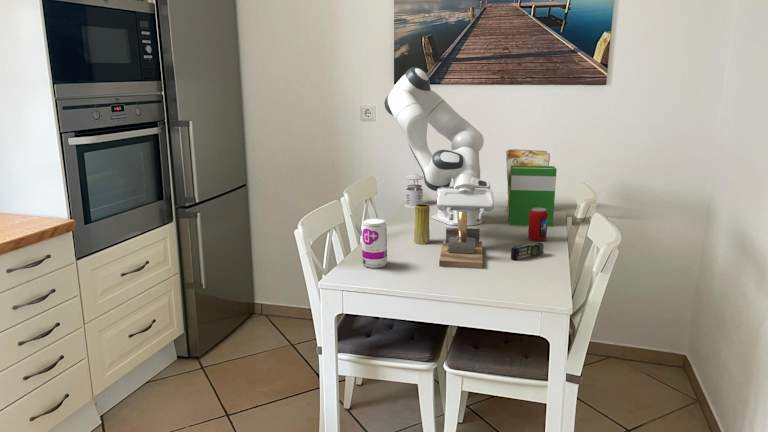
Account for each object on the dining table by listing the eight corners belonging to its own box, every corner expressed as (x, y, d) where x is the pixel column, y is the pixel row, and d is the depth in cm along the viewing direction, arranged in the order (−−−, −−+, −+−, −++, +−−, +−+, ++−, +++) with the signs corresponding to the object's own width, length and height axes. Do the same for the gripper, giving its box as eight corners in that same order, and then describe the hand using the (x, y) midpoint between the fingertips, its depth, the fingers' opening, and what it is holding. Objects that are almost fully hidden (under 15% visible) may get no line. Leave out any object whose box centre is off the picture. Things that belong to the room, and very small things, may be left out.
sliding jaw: (449, 247, 203) (450, 209, 200) (474, 248, 202) (476, 210, 198) (448, 252, 197) (449, 213, 194) (474, 253, 196) (476, 214, 193)
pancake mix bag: (504, 207, 271) (507, 148, 264) (546, 210, 265) (550, 150, 258) (502, 210, 265) (505, 150, 258) (545, 214, 259) (549, 151, 252)
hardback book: (509, 225, 241) (511, 168, 235) (508, 220, 248) (510, 165, 242) (552, 226, 238) (556, 169, 232) (550, 222, 245) (554, 166, 239)
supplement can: (378, 270, 187) (378, 225, 183) (357, 265, 191) (356, 222, 188) (391, 263, 194) (391, 220, 190) (370, 259, 198) (370, 216, 194)
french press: (402, 207, 272) (402, 155, 265) (405, 202, 283) (406, 151, 277) (423, 208, 270) (424, 155, 264) (425, 203, 281) (426, 152, 275)
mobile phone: (515, 248, 194) (548, 240, 201) (509, 246, 197) (541, 238, 204) (514, 262, 195) (547, 254, 202) (508, 259, 198) (541, 252, 205)
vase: (432, 240, 219) (432, 204, 215) (426, 245, 213) (427, 207, 210) (417, 238, 221) (417, 202, 218) (411, 243, 216) (411, 206, 212)
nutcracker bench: (443, 245, 213) (443, 226, 212) (481, 246, 211) (482, 228, 209) (439, 266, 190) (439, 246, 189) (482, 268, 188) (482, 248, 186)
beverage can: (546, 242, 216) (548, 211, 213) (528, 241, 217) (530, 210, 214) (545, 237, 222) (547, 207, 219) (527, 236, 224) (529, 206, 221)
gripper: (436, 181, 208) (434, 214, 201) (494, 182, 205) (494, 216, 198) (437, 191, 213) (435, 223, 206) (493, 192, 210) (493, 225, 203)
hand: (464, 219), depth 202 cm, fingers open, 8 cm apart
